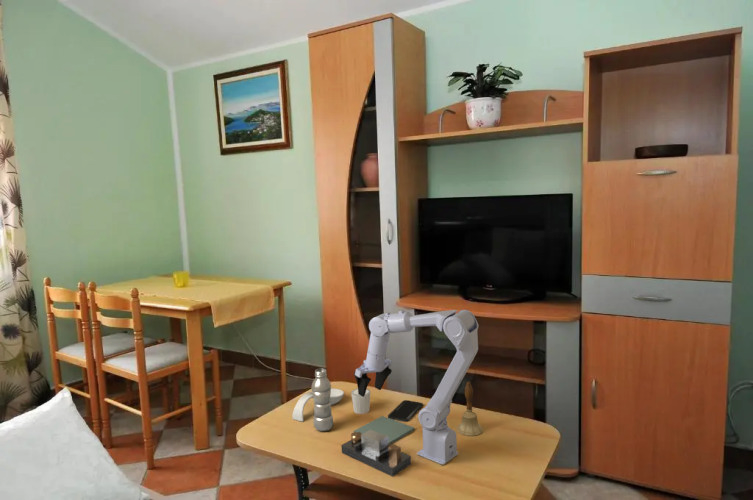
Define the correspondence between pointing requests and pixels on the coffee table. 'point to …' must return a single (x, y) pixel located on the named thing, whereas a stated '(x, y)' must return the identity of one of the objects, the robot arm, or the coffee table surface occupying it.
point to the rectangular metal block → (374, 442)
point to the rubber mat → (387, 428)
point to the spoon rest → (298, 410)
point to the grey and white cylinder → (361, 402)
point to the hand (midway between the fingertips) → (369, 391)
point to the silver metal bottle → (322, 401)
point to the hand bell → (469, 416)
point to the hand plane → (377, 456)
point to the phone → (405, 410)
